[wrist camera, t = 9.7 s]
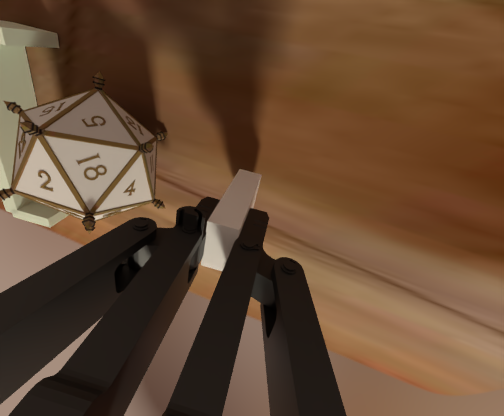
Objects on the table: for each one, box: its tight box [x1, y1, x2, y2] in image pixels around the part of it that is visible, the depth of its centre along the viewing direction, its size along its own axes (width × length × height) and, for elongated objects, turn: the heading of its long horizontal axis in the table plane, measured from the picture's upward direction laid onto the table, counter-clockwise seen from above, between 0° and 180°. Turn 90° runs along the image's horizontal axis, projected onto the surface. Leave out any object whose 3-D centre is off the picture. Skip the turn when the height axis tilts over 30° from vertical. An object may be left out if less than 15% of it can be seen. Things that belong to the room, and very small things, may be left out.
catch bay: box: [0, 20, 68, 227], centre depth 18 cm, size 4×13×4 cm, turn 168°
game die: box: [0, 71, 167, 234], centre depth 16 cm, size 9×8×10 cm
